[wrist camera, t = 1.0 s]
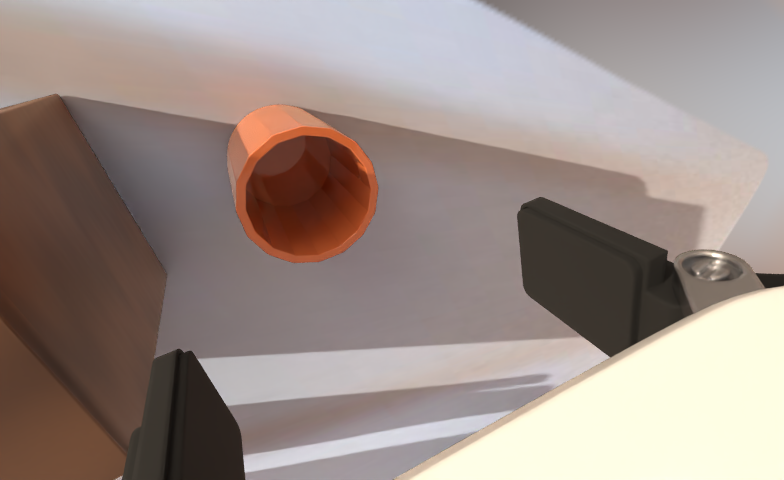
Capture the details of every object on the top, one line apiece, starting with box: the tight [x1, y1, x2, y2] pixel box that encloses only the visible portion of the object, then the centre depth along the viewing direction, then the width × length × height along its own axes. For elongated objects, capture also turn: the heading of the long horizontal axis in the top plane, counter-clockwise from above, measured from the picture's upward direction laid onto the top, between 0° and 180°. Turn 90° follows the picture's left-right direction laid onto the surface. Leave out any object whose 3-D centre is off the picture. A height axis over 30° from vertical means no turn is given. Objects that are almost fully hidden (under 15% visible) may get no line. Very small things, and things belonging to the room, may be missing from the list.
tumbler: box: [227, 105, 378, 263], centre depth 22 cm, size 6×6×8 cm
